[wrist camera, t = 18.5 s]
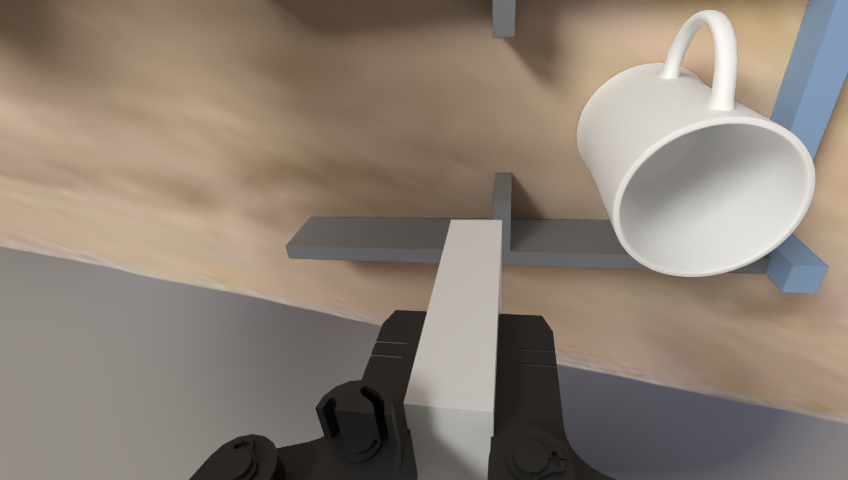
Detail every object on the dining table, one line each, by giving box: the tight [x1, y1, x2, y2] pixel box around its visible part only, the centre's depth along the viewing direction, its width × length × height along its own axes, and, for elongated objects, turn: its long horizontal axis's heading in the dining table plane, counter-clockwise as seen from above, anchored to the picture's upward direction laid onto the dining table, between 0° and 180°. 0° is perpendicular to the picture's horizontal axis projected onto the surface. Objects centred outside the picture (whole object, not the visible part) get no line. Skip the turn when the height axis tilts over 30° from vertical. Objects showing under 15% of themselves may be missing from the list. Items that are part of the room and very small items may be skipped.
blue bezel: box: [765, 0, 848, 294], centre depth 24 cm, size 20×2×7 cm, turn 5°
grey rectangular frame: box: [286, 0, 771, 274], centre depth 28 cm, size 20×34×5 cm, turn 95°
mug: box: [577, 10, 815, 277], centre depth 23 cm, size 12×8×12 cm
